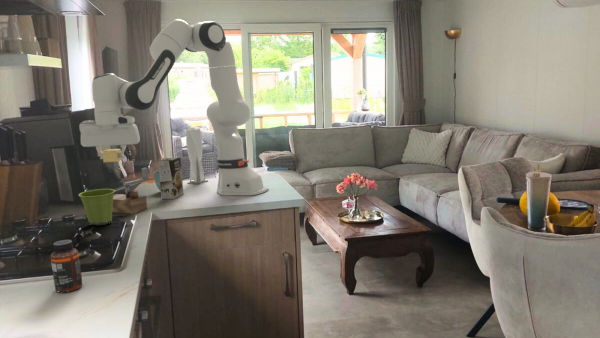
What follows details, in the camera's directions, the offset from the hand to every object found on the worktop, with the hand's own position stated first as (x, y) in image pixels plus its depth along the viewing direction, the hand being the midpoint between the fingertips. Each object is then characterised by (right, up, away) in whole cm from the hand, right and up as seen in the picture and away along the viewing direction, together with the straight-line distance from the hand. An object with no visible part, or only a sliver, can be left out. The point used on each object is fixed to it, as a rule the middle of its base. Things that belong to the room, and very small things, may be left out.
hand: (112, 157), depth 191 cm
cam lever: (+5, -14, +14) cm, 20 cm away
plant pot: (-1, -23, -8) cm, 25 cm away
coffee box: (+14, -16, +33) cm, 39 cm away
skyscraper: (+18, -11, +64) cm, 67 cm away
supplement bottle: (+14, -32, -68) cm, 76 cm away
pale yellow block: (0, -1, 0) cm, 1 cm away
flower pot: (+9, -14, +45) cm, 48 cm away
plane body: (+1, -20, +12) cm, 23 cm away
